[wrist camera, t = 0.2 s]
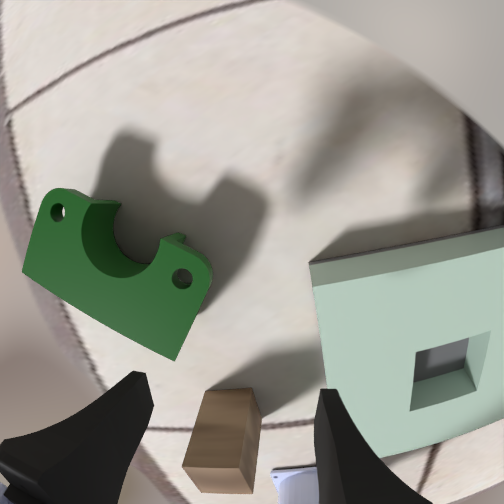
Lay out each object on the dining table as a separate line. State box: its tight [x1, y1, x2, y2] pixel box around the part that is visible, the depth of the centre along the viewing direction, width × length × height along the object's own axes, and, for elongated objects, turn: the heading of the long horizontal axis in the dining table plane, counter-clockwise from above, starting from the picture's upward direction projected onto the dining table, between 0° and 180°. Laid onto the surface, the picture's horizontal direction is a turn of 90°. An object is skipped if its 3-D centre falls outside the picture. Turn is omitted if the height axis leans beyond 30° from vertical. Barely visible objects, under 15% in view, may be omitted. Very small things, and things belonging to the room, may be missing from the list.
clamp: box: [22, 188, 213, 361], centre depth 19 cm, size 12×6×9 cm, turn 59°
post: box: [182, 388, 262, 494], centre depth 22 cm, size 4×4×8 cm
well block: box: [309, 225, 504, 458], centre depth 20 cm, size 18×18×4 cm
